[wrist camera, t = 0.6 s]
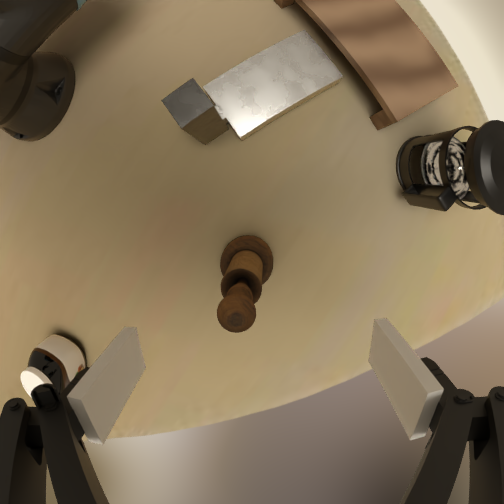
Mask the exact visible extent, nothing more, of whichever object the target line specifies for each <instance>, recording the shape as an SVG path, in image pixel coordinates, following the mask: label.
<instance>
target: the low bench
mask: <svg viewBox="0 0 504 504" xmlns="http://www.w3.org/2000/svg"><path fill="white" fill-rule="evenodd" d="M274 1H275V2H276V3H277V4H278V5H279V6H280V7H281V8H284V7H286V6H289V5H291V4H293V2H294V0H274ZM295 1H296V2H297V3H298V4H299V5H300V6H301V7H302V8H303V9H304V10H305V11H306V12H307V13H308V15H309V16H310V17H311V18H312V19H313V20H314V21H315V22H316V23H317V24H318V25H319V26H320V28H321V29H322V30H323V31H324V32H325V33H326V34H327V35H328V37H329V38H330V39H331V40H332V41H333V42H334V44H335V45H336V46H337V47H338V48H339V50H340V51H341V52H342V53H343V55H344V56H345V57H346V58H347V60H348V61H349V62H350V63H351V65H352V66H353V67H354V69H355V70H356V71H357V73H358V74H359V75H360V77H361V78H362V79H363V81H364V82H365V83H366V85H367V86H368V88H369V89H370V90H371V92H372V93H373V95H374V96H375V98H376V99H377V101H378V102H379V104H380V105H381V107H382V108H383V110H381V111H380V112H378V113H376V114H374V115H373V116H371V117H369V118H370V119H371V121H372V122H373V124H374V125H375V127H376V128H377V130H379V129H382V128H384V127H386V126H389V125H391V124H393V123H396V122H398V121H399V120H401V119H403V118H404V117H406V116H408V115H410V114H411V113H413V112H415V111H416V110H418V109H420V108H421V107H423V106H425V105H426V104H428V103H430V102H432V101H433V100H435V99H437V98H438V97H440V96H442V95H444V94H445V93H447V92H449V91H451V90H452V89H454V88H456V87H458V84H457V83H456V81H455V79H454V78H453V76H452V75H451V73H450V71H449V70H448V68H447V67H446V65H445V64H444V62H443V61H442V59H441V58H440V56H439V55H438V54H437V52H436V51H435V49H434V48H433V46H432V45H431V44H430V42H429V41H428V40H427V38H426V37H425V36H424V34H423V33H422V32H421V31H420V29H419V28H418V27H417V26H416V24H415V23H414V22H413V21H412V19H411V18H410V17H409V16H408V15H407V13H406V12H405V11H404V10H403V9H402V8H401V7H400V5H399V4H398V3H397V2H396V1H395V0H295Z"/></svg>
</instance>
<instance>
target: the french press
mask: <svg viewBox="0 0 504 504" xmlns="http://www.w3.org/2000/svg"><path fill="white" fill-rule="evenodd" d="M461 129H466V130H470V131H472V132H473V133H472V134H471V135H470V137H469V138H468V141H467V142H460V141H459V140H458V139H456V138H455V137H453V136H454V135H455V134H456V133H457V132H458V131H459V130H461ZM419 145H425V147H424V149H423V151H422V155H421V163H420V164H421V173H422V178H423V181H424V183H425V184H413V181H412V179H411V175H410V169H409V161H410V155H411V152H412V150H413V148H414V147H416V146H419ZM396 172H397V176H398V180H399V182H400V185H401V186H402V188H403V189H404V192H403V196H404V197H405V199H406V200H407V202H408V203H409V204H410V205H414V206H419V207H424V208H430V209H435V210H440V211H447V210H448V209H449V208H450V207H451V206H452V205H453V203H454V202H455V203H457V204H458V205H460V206H462V207H465V208H469V209H483V208H485V207H489V208H490V209H491V210H492V211H494V212H495V213H497V214H500V215H504V122H503V121H499V120H492V121H489V122H486V123H485V124H483V125H482V126H481V127H480V128H476V127H472V126H464V127H459V128H456V129H454V130H451V131H446V132H442V133H438V134H434V135H426V136H416V137H413V138H410V139H409V140H407V141H406V142H405V143H404V144H403V145H402V147H401V148H400V150H399V152H398V156H397V161H396ZM469 188H470V190H471V191H469ZM462 201H468V202H474V203H480V204H479V205H476V206H473V207H470V206H468V205H466V204H465V203H463V202H462Z"/></svg>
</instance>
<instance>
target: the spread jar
mask: <svg viewBox="0 0 504 504" xmlns="http://www.w3.org/2000/svg"><path fill="white" fill-rule="evenodd" d="M84 368H86V358H85V355H84V353H83V351H82V349H81V348H80V347H79V346H78V345H77V344H76V343H75V342H74V341H72V340H71V339H69V338H67V337H64V336H61V335H51V336H49V337H47V338H46V339H45V340H43V341H42V342H41V343H40V344H38V345H37V346H36V347H35V348H34V350H33V351H32V353H31V355H30V358H29V362H28V367H27V368H26V369H25V370H24V371H23V372H22V373H21V382H22V385H23V387H24V389H25V390H26V392H27V393H28V394H29V395H30V397H31V391H32V390H33V389H34V388H35V387H36V386H38V385H40V384H45V383H49V384H53V385H54V386H55V387H56V389H57V391H58V393H59V395H60V394H61V393H62V391H63V390H64V389H65V388H66V387H67V385H68V384H70V382H71V381H72V379H74V377H75V376H76V375H77V373H78V372H80V371H81V370H83V369H84ZM31 398H32V397H31Z"/></svg>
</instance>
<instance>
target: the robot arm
mask: <svg viewBox="0 0 504 504" xmlns="http://www.w3.org/2000/svg"><path fill="white" fill-rule="evenodd" d="M86 1H87V0H0V128H1V129H3V130H4V131H5V132H7V133H8V134H10V135H11V136H13V137H14V138H16V139H19V140H24V141H35V140H39V139H41V138H43V137H45V136H46V135H47V134H49V133H50V132H51V131H52V130H53V129H54V128H55V127H56V126H57V125H58V123H59V122H60V120H61V119H62V117H63V116H64V114H65V112H66V110H67V108H68V106H69V104H70V101H71V98H72V95H73V91H74V85H75V74H74V69H73V66H72V64H71V63H70V61H69V60H68V59H66V58H65V57H63V56H61V55H59V54H57V53H53V52H35V51H36V50H37V49H38V48H39V47H40V46H41V44H42V43H43V42H44V41H45V40H46V39H47V38H48V37H49V36H50V35H51V34H52V33H53V32H54V31H55V30H56V29H57V28H58V27H59V26H60V25H61V24H62V23H63V22H64V21H65V20H66V19H67V18H68V17H69V16H71V15H72V14H73V13H74V12H75V11H78V10H79V9H80V8H81V6H82V5H83V4H84V3H85V2H86ZM369 363H370V365H371V366H372V368H373V370H374V372H375V374H376V376H377V378H378V379H379V381H380V383H381V385H382V387H383V389H384V391H385V393H386V394H387V396H388V398H389V400H390V402H391V404H392V406H393V408H394V409H395V412H396V414H397V415H398V417H399V419H400V421H401V423H402V425H403V427H404V429H405V431H406V433H407V435H408V437H409V439H410V440H413V439H417V438H420V437H424V436H425V435H426V433H427V430H428V428H429V427H430V429H431V431H432V432H433V433H432V435H431V437H430V439H429V442H428V444H427V446H426V450H425V452H424V454H423V457H422V459H421V461H420V463H419V466H418V468H417V470H416V472H415V474H414V476H413V479H412V480H411V482H410V485H409V486H408V489H407V490H406V492H405V494H404V496H403V498H402V500H401V501H400V503H399V504H447V502H448V499H449V497H450V494H451V491H452V489H453V486H454V483H455V480H456V477H457V474H458V471H459V468H460V464H461V461H462V458H463V454H464V450H465V446H466V442H467V441H469V453H470V489H469V504H504V387H501V386H498V387H494V388H492V389H491V390H490V392H489V394H488V396H487V397H474V396H473V394H472V393H471V392H469V391H466V390H464V389H457V388H456V387H455V386H454V385H453V383H452V382H451V381H450V380H449V378H448V377H447V376H446V375H445V374H444V372H443V371H442V370H441V369H440V368H439V366H438V365H437V364H436V363H435V362H434V361H432V360H431V359H429V358H427V357H426V358H421V359H420V358H419V357H418V355H417V354H416V353H415V352H414V350H413V349H412V348H411V347H410V345H409V344H408V343H407V342H406V341H405V339H404V338H403V337H402V336H401V334H400V333H399V332H398V331H397V330H396V328H395V327H394V326H393V325H392V324H391V322H390V321H389V320H388V319H387V318H383V319H374V326H373V334H372V341H371V348H370V355H369ZM145 368H146V366H145V362H144V358H143V354H142V350H141V346H140V341H139V337H138V333H137V328H136V327H124V328H123V329H122V330H121V332H120V333H119V334H118V335H117V336H116V337H115V339H114V340H113V341H112V342H111V343H110V344H109V346H108V347H107V348H106V349H105V350H104V352H103V353H102V354H101V355H100V356H99V358H98V359H97V360H96V361H95V362H94V364H93V365H92V366H91V367H90V368H88V367H86V368H84V369H83V370H81V371H80V372H78V373H77V375H76V376H75V377H74V379H72V381H71V382H70V384H68V385H67V387H66V388H65V389H64V390H63V391H62V393H61V394H60V395H59V393H58V391H57V389H56V387H55V386H54V385H53V384H49V383H45V384H40V385H38V386H36V387H35V388H34V389H33V390H32V391H31V397H32V399H33V401H34V403H35V405H36V407H28V406H27V404H26V402H25V401H24V399H22V398H13V399H10V400H9V401H7V402H6V403H5V405H4V407H3V410H2V413H1V416H0V504H46V470H47V465H48V469H49V473H50V477H51V481H52V485H53V488H54V492H55V495H56V499H57V502H58V504H109V502H108V500H107V498H106V496H105V494H104V491H103V489H102V487H101V485H100V483H99V480H98V478H97V476H96V473H95V471H94V468H93V466H92V464H91V461H90V458H89V456H88V453H87V451H86V448H85V445H84V442H83V441H82V439H81V438H82V436H83V435H84V433H85V435H86V437H87V438H88V440H89V441H90V442H93V443H97V444H101V445H103V444H104V442H105V441H106V439H107V437H108V435H109V433H110V431H111V429H112V428H113V426H114V424H115V422H116V420H117V418H118V417H119V415H120V413H121V411H122V409H123V407H124V406H125V404H126V402H127V400H128V398H129V397H130V395H131V393H132V391H133V389H134V388H135V386H136V384H137V382H138V381H139V379H140V377H141V375H142V374H143V372H144V370H145Z"/></svg>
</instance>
